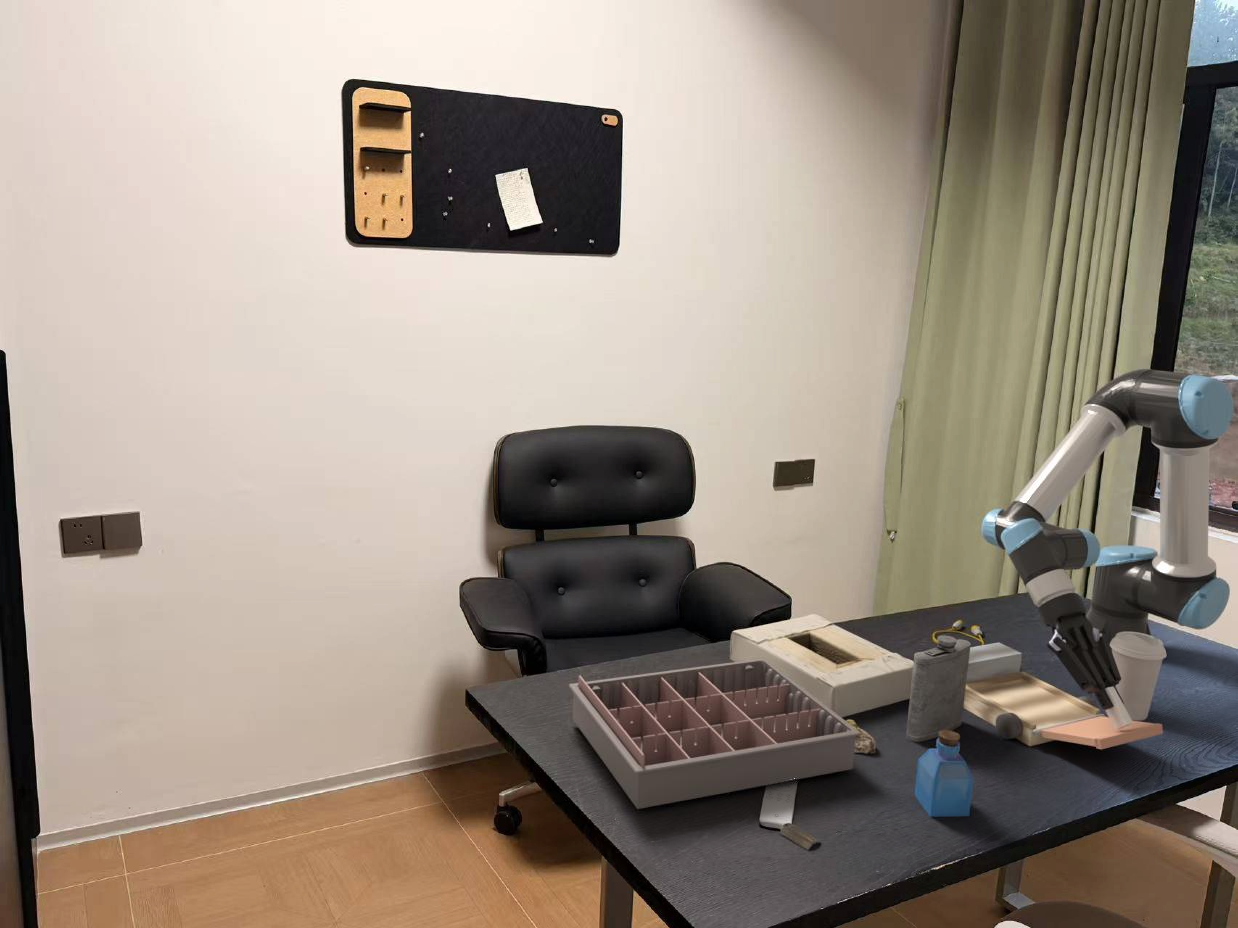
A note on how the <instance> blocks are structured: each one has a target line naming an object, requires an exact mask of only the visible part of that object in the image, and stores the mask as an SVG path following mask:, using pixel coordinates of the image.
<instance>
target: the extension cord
mask: <svg viewBox="0 0 1238 928" xmlns="http://www.w3.org/2000/svg"><path fill="white" fill-rule="evenodd" d="M963 626H964V622H963V621H962V620H960V619H959V620H957V621H955V622H954V623H953V624H952V628H950V629H947V630H937V631H934V632H933V634H932V641H933V642H934V643H936V644H937V645H938V642H937V639H936V637H935V636H936V635H939V634H940V633H941V634H944V633H957V634H962V635H965V636H967V637H969V638H973V639H974V640H977V641H979V642H981V645H980V646H982V645H986V643H985V642H984V640H983V638H982V635H983V631H982V627H981V625H980V626H978V625H972V626H971V628H970V631H971V633H972V634H973V635H974V636H973V635H970V634H968V633H964V632H961V631H958V630H961V628H962V627H963Z"/></svg>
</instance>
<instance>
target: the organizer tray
mask: <svg viewBox="0 0 1238 928" xmlns="http://www.w3.org/2000/svg"><path fill="white" fill-rule="evenodd" d="M568 687H569V689H570V690H571V691H572V693H573V695H572V697H573V700H572V701H573V702H572V721H574V723H575V725H577V727H578V729H579V730H580V732H582V734H583V736H584V737H585V739H586V740H587V741H588V743H589V744H590V745H591V746H592V748H593V749H594V751H595V752H596V753H597V755H598V756H599V758H600V759H601V760H602V762H603V763H604V765H605V766H606V767H607V770H609V772H610V773H611V774H612V776H613V777H614V779H615V780H616V782H617V783H618V784H619V786H620V787H621V788H622V790H623V791H624V793H625V794H626V796H627V797H628V798H629V799H630V801H631V802H632V804H633V805H634V806H635V808H636V809H637V810H639V809H644V808H649V807H650V808H651V807H655V806H661V805H666V804H672V803H677V802H683V801H688V800H693V799H698V798H703V797H710V796H714V795H715V796H716V795H719V794H725V793H731V792H736V791H742V790H746V789H753V788H757V787H762V786H768V784H769V785H774V783H775V784H778V782H780V783H784V781H785V782H788V781H787V780H790V779H794V778H795V779H796V780H799V779H805V778H806V779H807V778H812V777H817V776H821V775H828V774H833V773H838V772H842V771H843V772H844V771H849V770H853V769H854V760H855V759H854V758H855V753H854V750H855V739H856V736H860V735H862V734H861V732H859V731H858V730H857V729H855V728H854V727H853V726H851V725H850V724H849V723H848V722H846V721H847V720H845V719H844V718H843V717H840V716H839V715H837V714H836V713H835V712H833V711H832V710H831V709H830V708H828V707H827V706H826V705H824V704H823V703H822V702H821V701H819V700H818V699H817V698H815V697H814V696H813V695H812V694H810V693H809V692H808V691H806V690H805V689H804V688H803V687H801V686H800V685H799V684H797V683H796V682H795V681H794V680H792V679H791V678H790V677H788V676H787V675H786V674H785V673H783V672H782V671H781V670H779V669H778V668H777V667H776V666H774V665H773V664H772V663H770V662H769V661H768V660H766V659H765V658H762V659H754V660H747V661H739V662H734V661H732V662H727V663H719V664H711V665H703V666H695V667H694V666H693V667H689V668H688V667H687V668H679V669H672V670H665V671H658V672H649V673H642V674H636V675H635V674H634V675H627V676H619V677H613V678H605V679H598V680H597V679H596V680H590V681H586V680H585V679H584V677H582V675H578V682H574V683H569V684H568Z"/></svg>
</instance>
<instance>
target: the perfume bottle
mask: <svg viewBox="0 0 1238 928" xmlns="http://www.w3.org/2000/svg"><path fill="white" fill-rule="evenodd" d="M938 734H939V736H938V737H937V739H936V743H935V744H936V745H935V747H936V748H935V747H933V748H930V747H929V749H927V750H926V751H925V753H923V754H922V755H921V757H919V758H918V759H917V760H918V761H917V768H916V769H917V770H916V779H915V790H914V796H915V798H916V799H917V800H918V802H919V803H920V805H921V806H922V808H923V810H925V812H926V813H927V815H928V817H929V818H932V817H933V818H936V817H938V818H939V817H940V818H941V817H942V818H943V817H969V816H970V810H971V802H972V795H973V794H972V793H973V785H974V778H973V776H972V774H971V771H970V769H969V767H968V765H967V762H966V761H965V759H964V758H963V757H962V755H960V754H959V752H960V750H961V749H960V747H961V742H959V740H960V738H961V736H960V734H959V733H958V732H955V731H954V730H952V731H949V730H942V731H939V733H938Z"/></svg>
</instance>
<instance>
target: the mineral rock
mask: <svg viewBox="0 0 1238 928" xmlns="http://www.w3.org/2000/svg"><path fill="white" fill-rule="evenodd" d="M845 721H846V722H848V723H849V724H850V725H851V726H853V727H854V728H855V729H857V730H858V731H859V732H861V734H862V735H860V736H856V739H855V750H854V754H857V753H858V754H860V753H861V754H862V753H863V754H865V755H867V754H875V753H876V749H877V745H878V743H877V742H876V741H875V737H873V736H871V735H870V734H869V732H868V731H866V730H865V729H863V728H862V729H861V728H860V727H859V726H858V725H857V723H856V721H855V720H853V719H846V720H845Z"/></svg>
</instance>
